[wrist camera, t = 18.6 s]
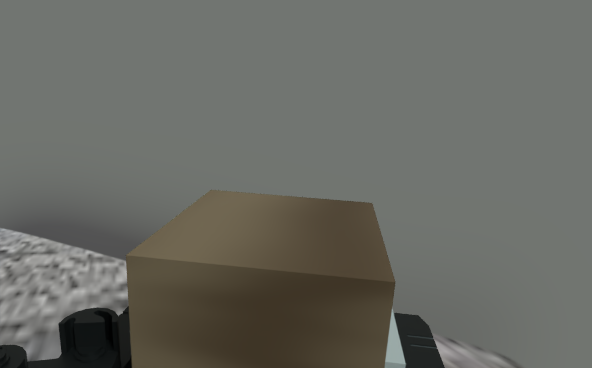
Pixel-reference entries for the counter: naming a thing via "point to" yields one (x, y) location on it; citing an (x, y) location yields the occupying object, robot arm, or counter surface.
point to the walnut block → (262, 286)
